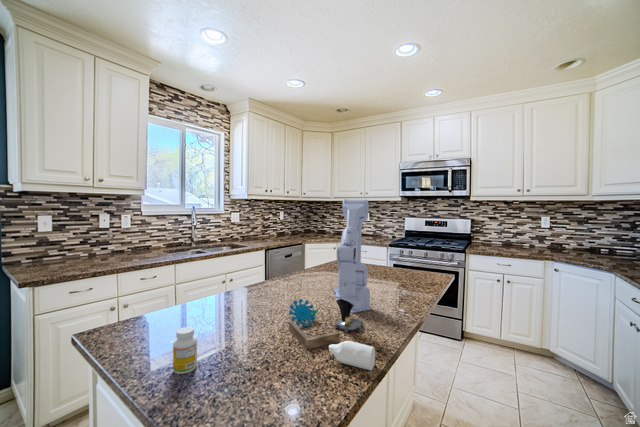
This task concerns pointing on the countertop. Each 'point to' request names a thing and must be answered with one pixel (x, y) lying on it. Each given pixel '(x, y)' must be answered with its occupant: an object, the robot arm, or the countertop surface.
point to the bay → (313, 341)
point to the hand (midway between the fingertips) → (345, 321)
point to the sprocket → (349, 324)
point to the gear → (302, 312)
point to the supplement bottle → (185, 351)
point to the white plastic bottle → (354, 354)
